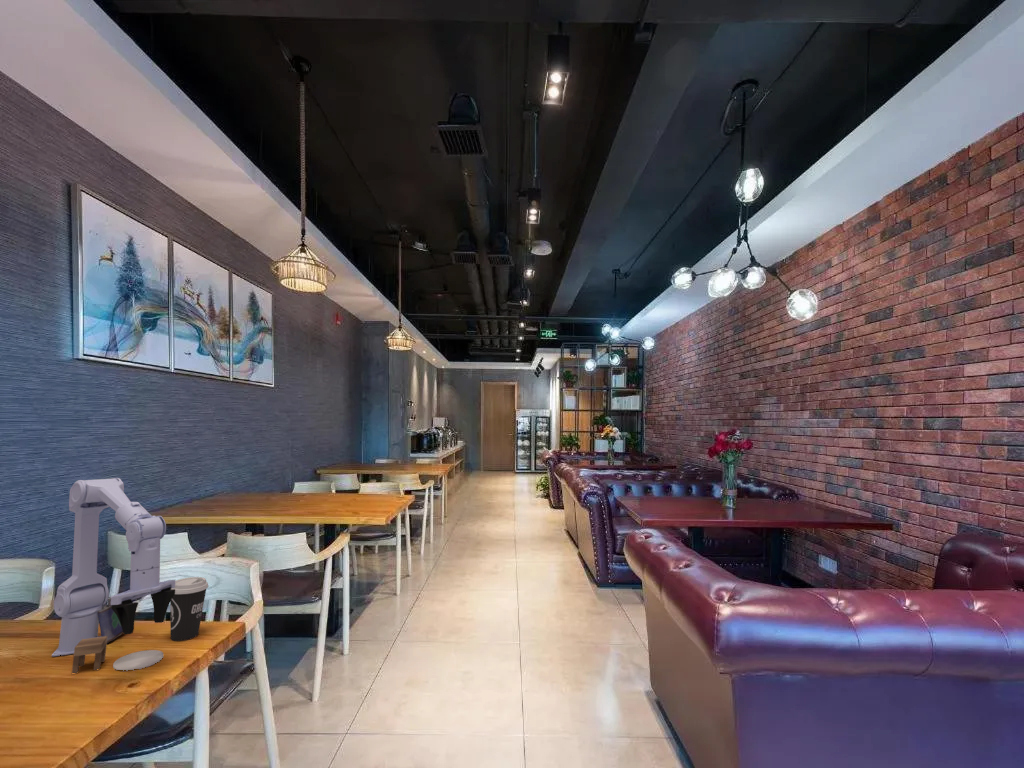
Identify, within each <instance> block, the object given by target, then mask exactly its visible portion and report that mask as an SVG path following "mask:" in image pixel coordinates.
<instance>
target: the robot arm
mask: <svg viewBox="0 0 1024 768" xmlns="http://www.w3.org/2000/svg"><path fill="white" fill-rule="evenodd" d="M124 491H125V485H124V482H123V481H122V479H121V478H119V477H113V478H101V479H100V478H99V479H87V480H86V479H79V480H76V481H75V482H74V483H73V484H72V486H71V487H70V489H69V498H68V510H69V512H72V513H74V533H73V535H74V536H73V551H72V554H73V555H72V569H71V570H72V572H71V576H70V577H69V578H67V579H66V580H65V581H63V582H62V583H61V584H60V585H58V587H57V590H56V596H55V597H54V601H53V610H54V613H55V614H56V615H57V616H58V617H61V621H60V622H61V623H60V633H59V641H58V647H57V648H56V650H54V652H53V653H52V654H51V657H59V656H60V655H61V656H67V655H74V649H75V647H76V645H77V644H78V643H79V642H80V641H81V640H82V639H88V638H96V637H101V635H99V628H100V625H99V619H98V611H99V610H101V609H102V608H103V607H104V606H106V605H107V602H108V599H109V598H108V597H111V605H112V606H111V608H112V610H113V611H114V612H115V614H116V615H117V617H118V619H119V621H120V624H121V627H122V630H123V633H122V634H123V635H132V634H133V633H134V630H135V619H136V614H137V613H136V612H137V608H138V606H139V602H137V601H134V600H135V599H139V598H143V597H146V596H149V595H150V597H151V600H152V605H153V621H154V624H161V623H164V621H165V618H166V615H167V611H168V608H169V606H170V601H171V599H172V598H173V596H174V594H175V589H172V588H175V581H176V579H168V580H164V581H160V574H161V573H160V571H161V570H160V569H161V568H160V567H161V540H162V539H163V538H164V536H166V535H165V534H166V531H167V524H166V521H165V519H164V518H163V516H162V515H152V514H150V512H149V511H148V510H147V509H146V508H145V507H143V506H142V504H141V503H140V502H138V501H131V500H130V498H129V497H128V496H127V494H125V492H124ZM107 508H111V509H112V510H113V511H115V514H114V518H115V520H116V521H117V522H118V523H119V524H120V525H121V526H122V528H123V529H124V530H125V531H126V532H125V538H126V541H127V546H128V547H127V548H128V551H129V552H130V579H129V581H130V582H129V589H128V590H126V591H123V592H121V593H118V594H114V595H111V596H110V591H109V586H108V578H107V577H105V576H104V575H102V574H99V573H97V572H98V547H99V525H100V514H101V513H102V511H103V510H105V509H107Z"/></svg>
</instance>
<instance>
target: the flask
mask: <svg viewBox="0 0 1024 768" xmlns="http://www.w3.org/2000/svg"><path fill="white" fill-rule="evenodd" d="M111 606H112V605H111V596H109V597H108V600H107V602H106V604H105V605H104V606H102V609H101V610H99V611H98V619H99V630H100V636H101V637H104V636H107V644H108V643H110V642H112V641H114V640H115V639H117V638H118V637H119V636H121V635H122V634H123V630H122V627H121V624H120V621H119V619H118V617H117V615H116V614H115V612H114V611H113V610H112V608H111Z"/></svg>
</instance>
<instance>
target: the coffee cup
mask: <svg viewBox="0 0 1024 768" xmlns="http://www.w3.org/2000/svg"><path fill="white" fill-rule="evenodd" d="M208 588H209V583H208V582H207V578H206V577H203V576H202V577H201V576H200V577H199V576H192V577H184V578H180V579H177V580H176V579H175V588H172V589H175V594H174V596H173V598H172V599H171V601H170V603H169V606H170V607H169V608H170V617H169V618H170V620H169V622H170V640H171V641H173V642H183V641H188V640H191V639H194V638H196V637H197V636H199V632H200V627H201V626H200V625H201V621H202V615H203V608H204V603H205V599H206V593H207V589H208Z"/></svg>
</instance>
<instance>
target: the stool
mask: <svg viewBox="0 0 1024 768" xmlns="http://www.w3.org/2000/svg"><path fill="white" fill-rule="evenodd" d="M107 644H108V643H107V636H104V637H96V638H88V639H82V640H81V641H80V642H79V643H78V644H77V645H76V647H75V649H74V654H73V658H72V659H73V660H72V668H71V669H72V670H71V674H72V673H77V672H78V671H80V667H84V665H85V663H86V662H85V661H86V655H94V661H93V662H94V663H93V670H96V671H98V670H97V669H99V668H100V669H101V664H102V663H101V662H104V661H105V662H106V656H107V655H106V654H107ZM105 662H104V663H105ZM79 666H80V667H79ZM100 669H99V670H100ZM78 673H79V672H78ZM78 673H77V674H78Z"/></svg>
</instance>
